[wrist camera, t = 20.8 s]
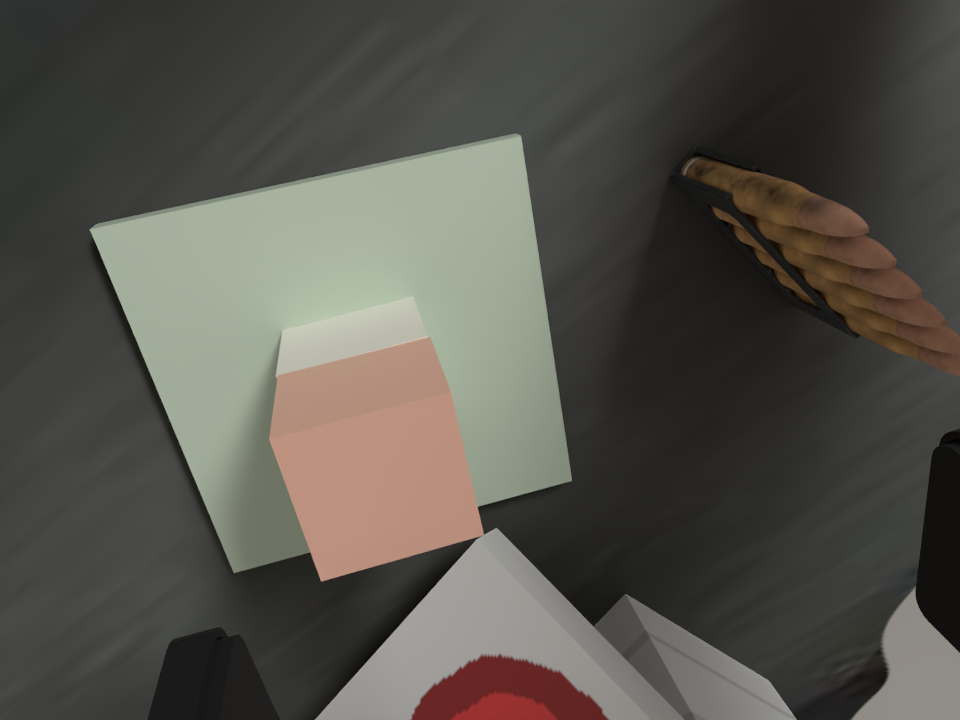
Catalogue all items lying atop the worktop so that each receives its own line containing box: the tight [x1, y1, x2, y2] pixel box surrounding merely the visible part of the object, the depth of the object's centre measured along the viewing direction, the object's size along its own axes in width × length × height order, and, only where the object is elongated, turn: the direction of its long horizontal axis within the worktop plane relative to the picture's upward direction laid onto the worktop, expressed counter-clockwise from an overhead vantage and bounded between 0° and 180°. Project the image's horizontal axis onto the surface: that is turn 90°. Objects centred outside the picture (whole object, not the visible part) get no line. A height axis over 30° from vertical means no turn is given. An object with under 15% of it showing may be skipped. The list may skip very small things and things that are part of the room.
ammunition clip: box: [669, 146, 960, 376], centre depth 30 cm, size 11×2×12 cm, turn 49°
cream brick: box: [276, 297, 428, 379], centre depth 31 cm, size 6×6×5 cm
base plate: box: [90, 134, 572, 573], centre depth 34 cm, size 18×18×1 cm
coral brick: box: [269, 337, 484, 581], centre depth 27 cm, size 6×6×5 cm
